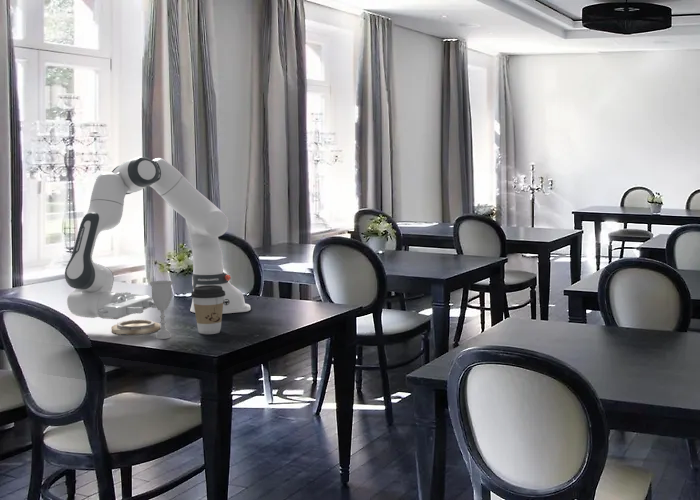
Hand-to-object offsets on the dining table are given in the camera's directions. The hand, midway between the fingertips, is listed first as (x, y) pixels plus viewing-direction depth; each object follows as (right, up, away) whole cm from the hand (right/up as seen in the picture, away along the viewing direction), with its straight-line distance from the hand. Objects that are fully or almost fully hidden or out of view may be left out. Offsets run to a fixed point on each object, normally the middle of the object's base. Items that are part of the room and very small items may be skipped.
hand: (150, 307), depth 276 cm
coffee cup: (+18, -9, +7) cm, 21 cm away
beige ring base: (-7, -8, +11) cm, 16 cm away
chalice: (+4, -10, 0) cm, 11 cm away
